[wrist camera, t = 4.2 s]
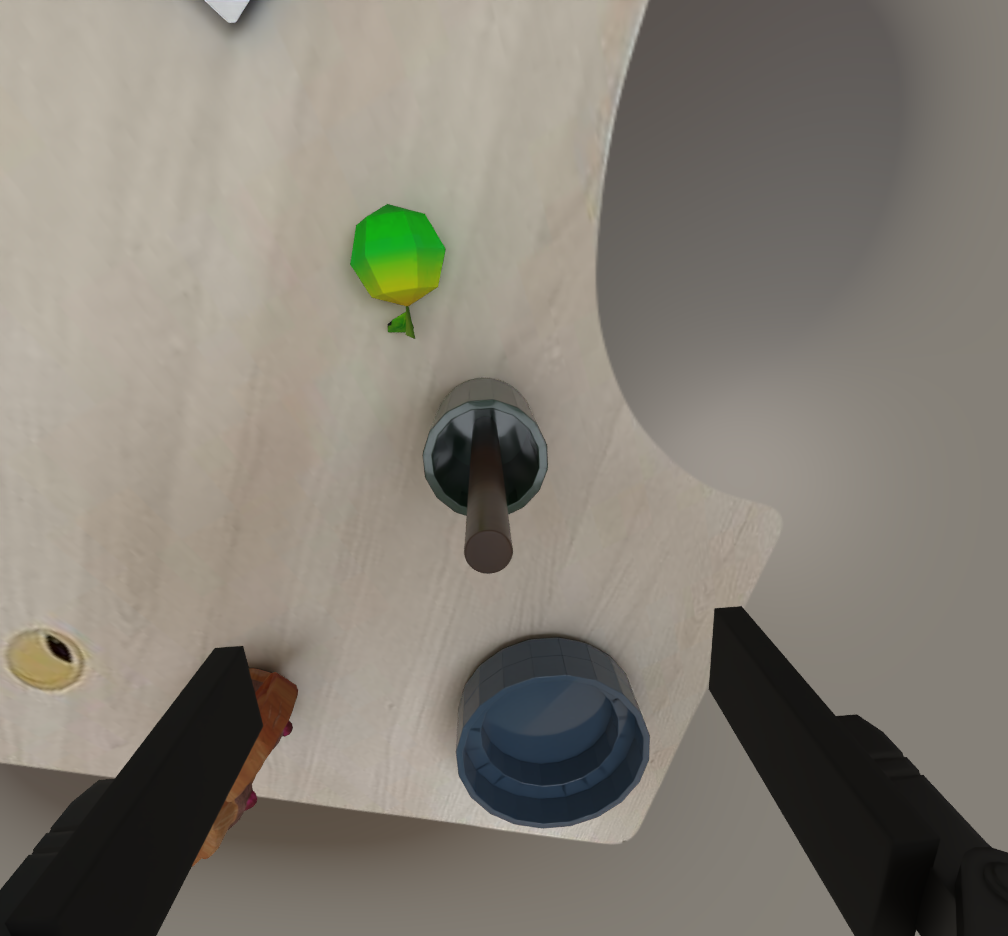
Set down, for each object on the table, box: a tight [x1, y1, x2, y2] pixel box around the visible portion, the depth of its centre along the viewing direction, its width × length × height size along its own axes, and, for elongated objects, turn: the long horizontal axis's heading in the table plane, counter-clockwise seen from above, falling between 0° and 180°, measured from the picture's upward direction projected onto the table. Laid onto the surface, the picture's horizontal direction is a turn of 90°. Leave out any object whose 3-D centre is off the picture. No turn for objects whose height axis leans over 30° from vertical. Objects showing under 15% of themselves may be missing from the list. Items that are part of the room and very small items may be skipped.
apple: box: [350, 204, 445, 339], centre depth 37 cm, size 7×6×9 cm
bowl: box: [456, 637, 650, 828], centre depth 49 cm, size 17×17×6 cm
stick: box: [464, 417, 513, 574], centre depth 32 cm, size 2×2×22 cm
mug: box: [192, 668, 298, 866], centre depth 42 cm, size 15×8×15 cm, turn 136°
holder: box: [423, 378, 548, 516], centre depth 38 cm, size 8×8×10 cm
